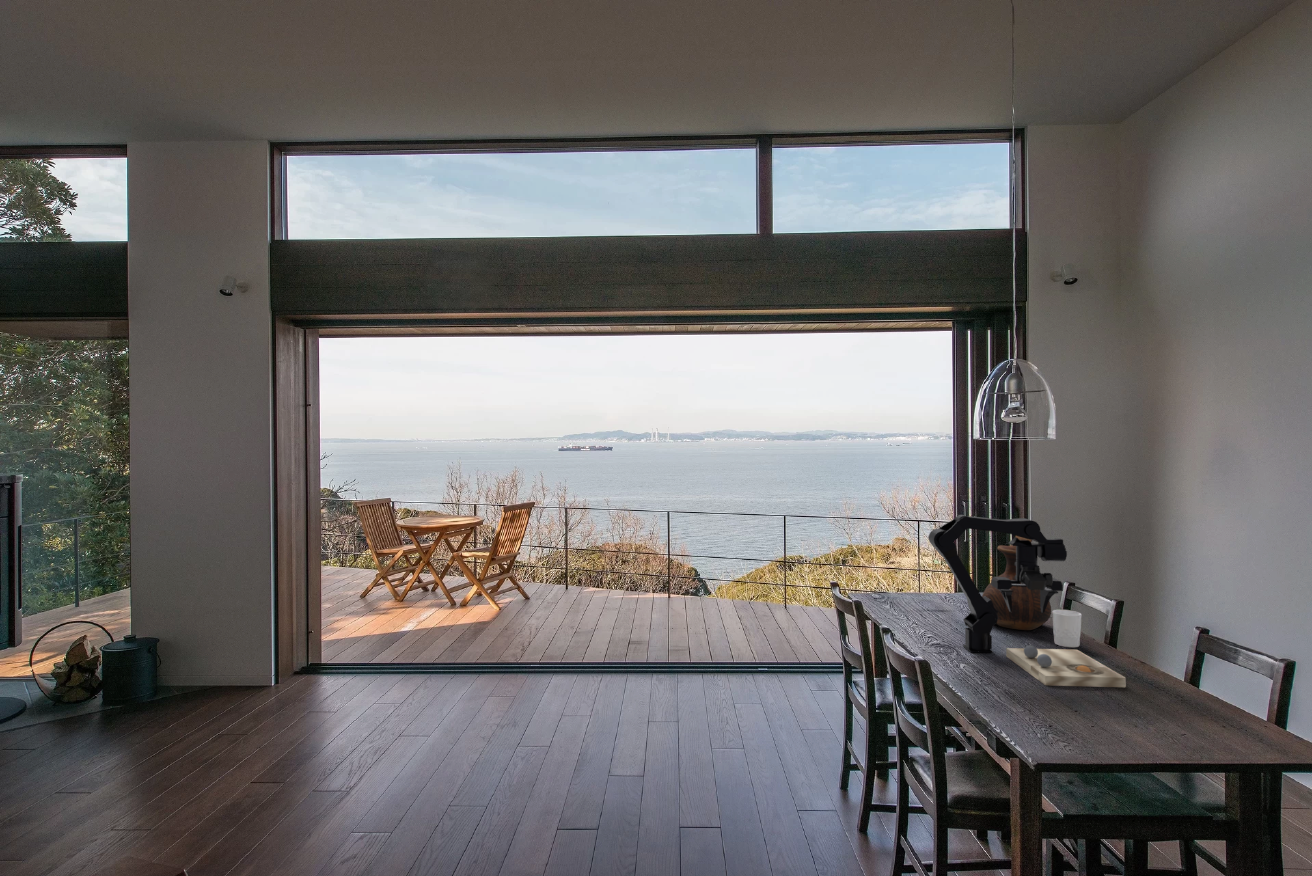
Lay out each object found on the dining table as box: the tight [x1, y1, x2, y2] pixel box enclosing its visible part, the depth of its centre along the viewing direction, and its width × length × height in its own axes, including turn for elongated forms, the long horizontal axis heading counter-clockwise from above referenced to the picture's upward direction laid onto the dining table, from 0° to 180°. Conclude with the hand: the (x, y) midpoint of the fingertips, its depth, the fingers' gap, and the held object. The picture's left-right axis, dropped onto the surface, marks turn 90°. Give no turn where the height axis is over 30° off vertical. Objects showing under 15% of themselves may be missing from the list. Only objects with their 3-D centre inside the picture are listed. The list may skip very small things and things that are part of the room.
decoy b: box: [1037, 654, 1052, 668], centre depth 188 cm, size 4×4×4 cm
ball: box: [1077, 665, 1091, 672], centre depth 187 cm, size 4×4×4 cm
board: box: [1005, 647, 1127, 688], centre depth 193 cm, size 20×24×2 cm
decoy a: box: [1024, 644, 1038, 658], centre depth 196 cm, size 4×4×4 cm
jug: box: [981, 536, 1052, 631], centre depth 240 cm, size 22×22×30 cm
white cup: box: [1051, 609, 1082, 648], centre depth 218 cm, size 8×8×10 cm
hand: (1026, 612), depth 210 cm, fingers open, 9 cm apart
